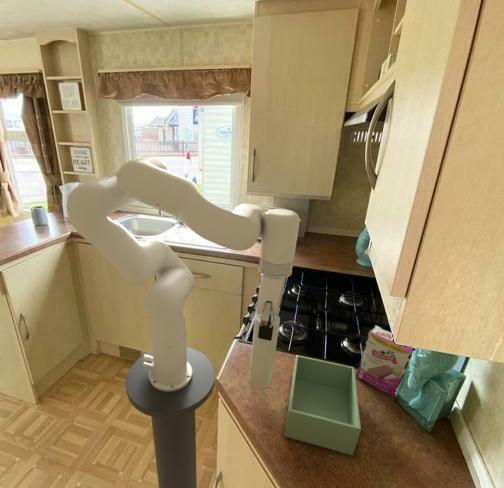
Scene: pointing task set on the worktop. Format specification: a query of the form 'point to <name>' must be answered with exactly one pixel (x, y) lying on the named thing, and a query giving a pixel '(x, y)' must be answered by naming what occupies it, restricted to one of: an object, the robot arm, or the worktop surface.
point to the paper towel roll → (263, 355)
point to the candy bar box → (383, 361)
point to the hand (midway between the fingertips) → (267, 327)
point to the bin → (324, 405)
